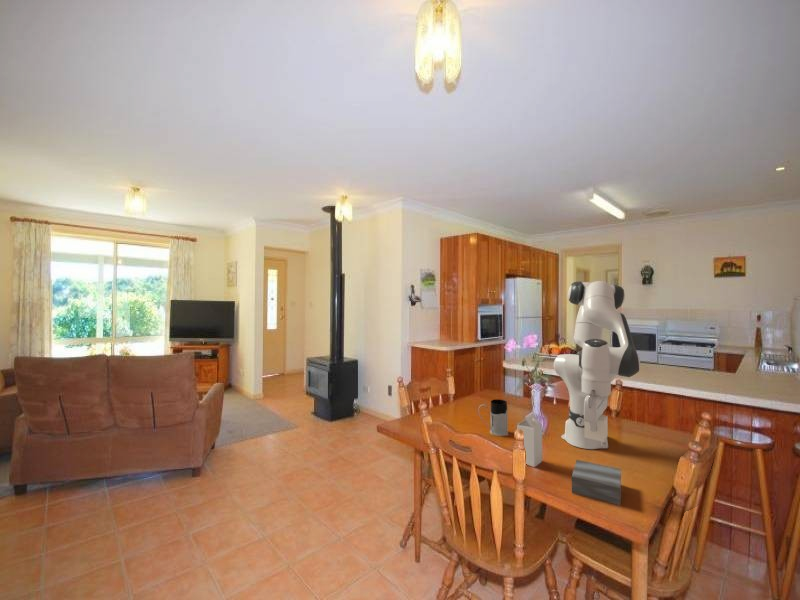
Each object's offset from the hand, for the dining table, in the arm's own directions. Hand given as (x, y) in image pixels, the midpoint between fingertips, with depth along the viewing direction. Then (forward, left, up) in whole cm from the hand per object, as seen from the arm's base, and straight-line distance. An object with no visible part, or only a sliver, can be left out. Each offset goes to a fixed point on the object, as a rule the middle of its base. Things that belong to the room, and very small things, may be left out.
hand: (596, 427), depth 123 cm
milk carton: (-6, -25, -21) cm, 33 cm away
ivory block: (0, 0, -3) cm, 3 cm away
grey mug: (-25, -49, -21) cm, 59 cm away
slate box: (0, 0, -22) cm, 22 cm away
